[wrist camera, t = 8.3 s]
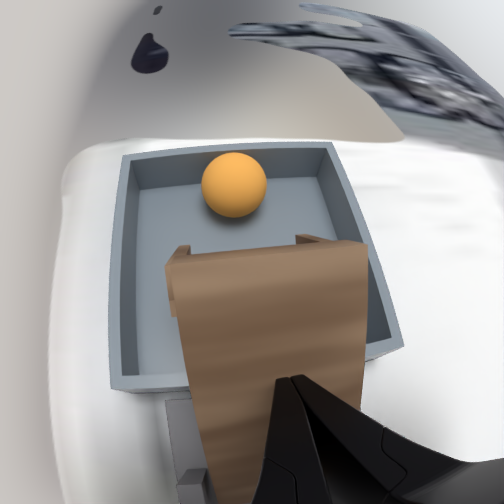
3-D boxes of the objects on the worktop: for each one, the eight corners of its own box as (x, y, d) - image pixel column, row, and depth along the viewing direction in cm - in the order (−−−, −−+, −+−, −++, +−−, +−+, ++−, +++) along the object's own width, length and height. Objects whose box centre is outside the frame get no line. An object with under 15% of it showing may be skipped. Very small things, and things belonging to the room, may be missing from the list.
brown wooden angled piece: (355, 478, 11) (378, 243, 9) (210, 506, 10) (156, 265, 8) (309, 399, 18) (305, 228, 17) (204, 414, 18) (178, 239, 16)
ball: (257, 172, 22) (266, 224, 20) (200, 177, 21) (204, 230, 20) (265, 138, 18) (277, 196, 17) (197, 141, 17) (201, 201, 16)
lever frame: (370, 521, 12) (407, 544, 8) (198, 555, 10) (190, 592, 6) (347, 374, 16) (382, 362, 12) (168, 400, 15) (148, 398, 11)
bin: (375, 358, 17) (404, 346, 14) (132, 393, 15) (110, 388, 12) (319, 175, 23) (331, 142, 20) (133, 189, 21) (122, 155, 18)
